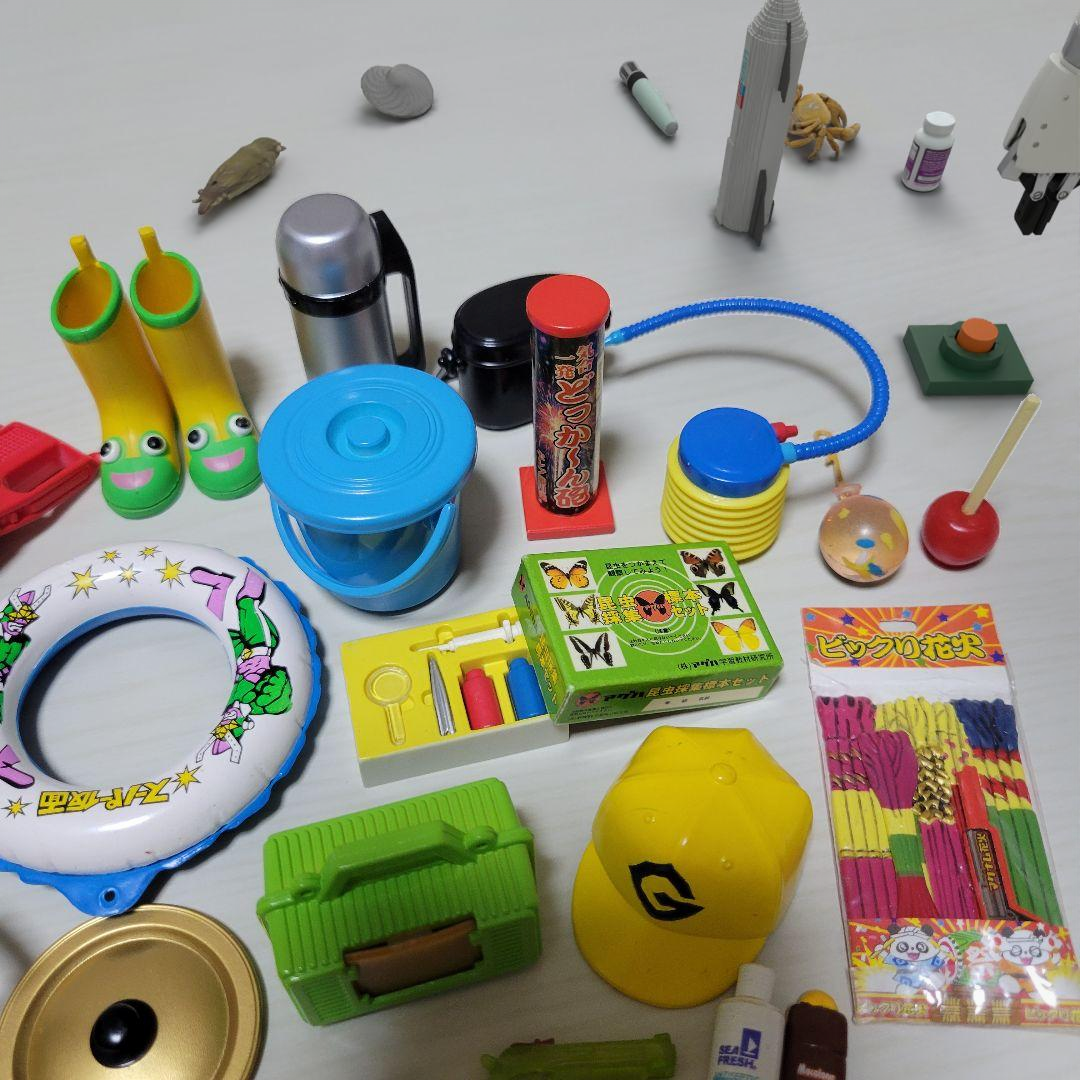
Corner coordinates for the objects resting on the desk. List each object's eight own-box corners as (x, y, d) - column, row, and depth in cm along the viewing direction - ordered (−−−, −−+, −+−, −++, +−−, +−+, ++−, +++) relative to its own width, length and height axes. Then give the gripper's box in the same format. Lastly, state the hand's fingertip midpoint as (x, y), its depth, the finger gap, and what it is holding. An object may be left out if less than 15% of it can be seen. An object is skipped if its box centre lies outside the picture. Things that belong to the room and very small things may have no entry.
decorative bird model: (300, 160, 142) (293, 128, 138) (211, 229, 131) (201, 197, 127) (273, 151, 143) (266, 119, 139) (183, 219, 133) (172, 187, 129)
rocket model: (783, 244, 128) (837, 11, 104) (733, 250, 127) (776, 17, 104) (750, 186, 137) (793, -41, 113) (702, 192, 136) (735, -36, 112)
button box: (999, 337, 116) (1012, 311, 113) (1026, 394, 110) (1041, 368, 107) (902, 339, 116) (912, 313, 113) (924, 396, 110) (935, 370, 107)
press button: (985, 331, 112) (992, 317, 110) (996, 354, 109) (1003, 340, 108) (952, 331, 112) (958, 318, 110) (961, 354, 109) (968, 341, 108)
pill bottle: (945, 181, 137) (968, 117, 130) (927, 197, 135) (950, 132, 127) (911, 167, 139) (932, 104, 132) (893, 183, 137) (914, 119, 129)
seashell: (356, 96, 153) (366, 118, 146) (356, 59, 149) (365, 79, 142) (427, 97, 156) (440, 119, 149) (428, 61, 152) (441, 81, 146)
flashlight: (692, 126, 144) (645, 65, 155) (670, 117, 141) (624, 55, 153) (680, 146, 146) (635, 83, 157) (658, 137, 143) (614, 74, 155)
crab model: (874, 156, 142) (885, 121, 137) (796, 169, 139) (804, 134, 135) (827, 104, 151) (836, 70, 146) (753, 116, 148) (760, 81, 144)
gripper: (1177, 26, 86) (1085, 205, 101) (1012, 28, 86) (945, 208, 100) (1214, 66, 81) (1113, 248, 96) (1040, 69, 81) (965, 250, 96)
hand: (1027, 227), depth 98 cm, fingers closed
